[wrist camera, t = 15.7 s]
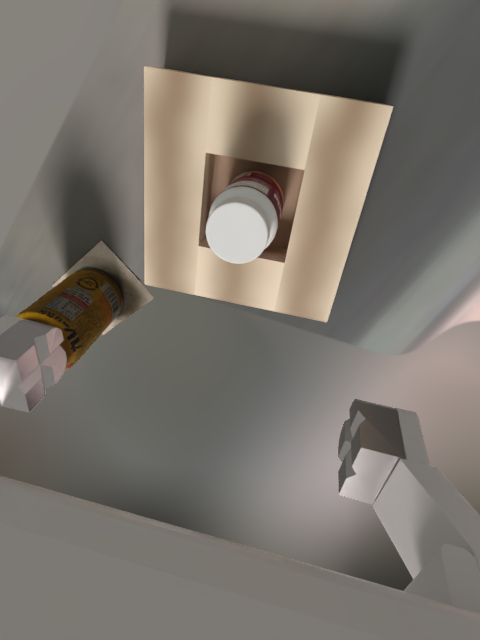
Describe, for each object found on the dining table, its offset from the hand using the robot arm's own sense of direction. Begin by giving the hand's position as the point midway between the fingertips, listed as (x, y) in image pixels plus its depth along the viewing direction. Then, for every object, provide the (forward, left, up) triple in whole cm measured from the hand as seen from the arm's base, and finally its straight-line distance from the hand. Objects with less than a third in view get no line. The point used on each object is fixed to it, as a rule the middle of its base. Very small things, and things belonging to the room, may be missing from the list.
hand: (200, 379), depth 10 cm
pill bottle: (+2, +1, -24) cm, 24 cm away
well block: (+2, +2, -24) cm, 24 cm away
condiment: (+16, +14, -25) cm, 32 cm away
